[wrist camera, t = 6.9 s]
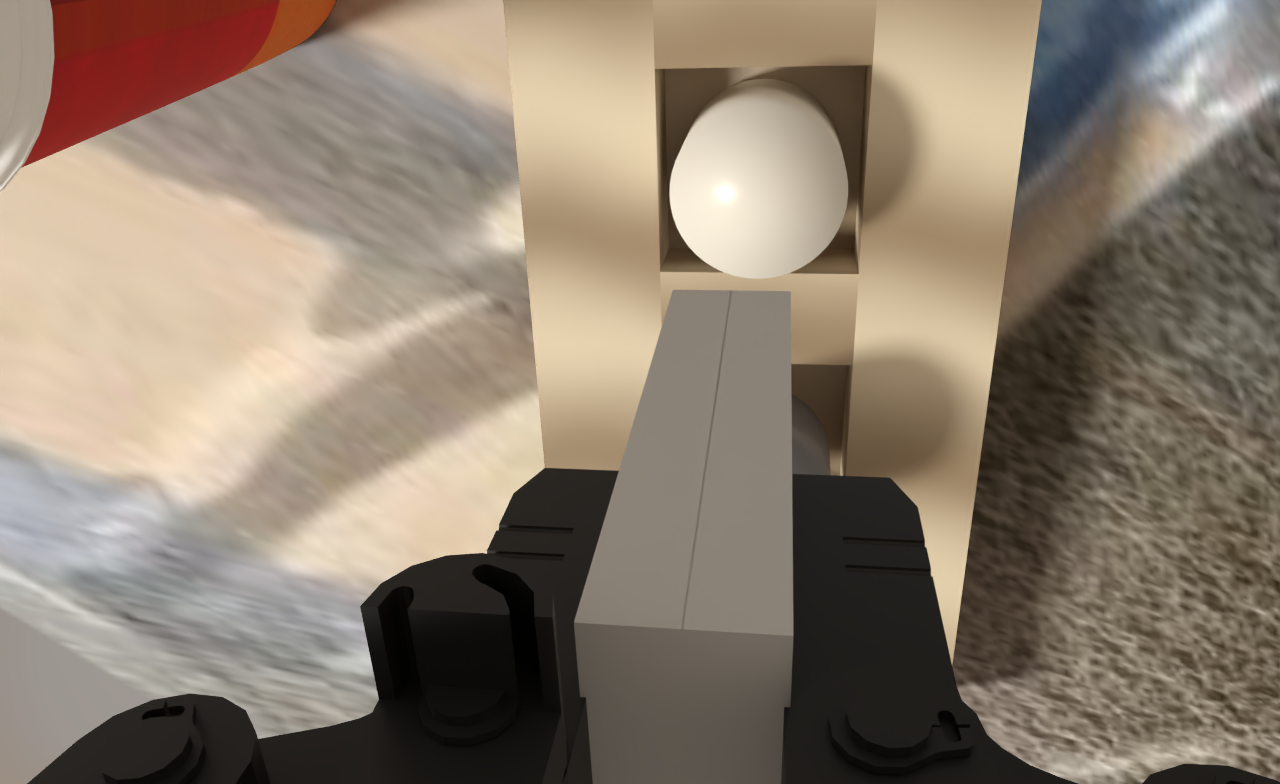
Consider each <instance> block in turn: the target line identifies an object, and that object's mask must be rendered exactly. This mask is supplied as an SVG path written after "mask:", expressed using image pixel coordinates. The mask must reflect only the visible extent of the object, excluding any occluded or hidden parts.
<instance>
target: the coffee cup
mask: <svg viewBox="0 0 1280 784" xmlns="http://www.w3.org/2000/svg"><path fill="white" fill-rule="evenodd" d="M336 1H337V0H0V191H2V190H3V189H4V188H5V187H6V186H7V184H8V183H9V182H10V181H11V180H12V178H13V177H14V176H15V175H16V173H17V172H18V171H19V170H20V168H22V167H24V166H26V165H29V164H31V163H33V162H35V161H38V160H40V159H42V158H45V157H47V156H49V155H52V154H54V153H56V152H59V151H61V150H63V149H66V148H68V147H70V146H73V145H75V144H77V143H80V142H82V141H84V140H87V139H89V138H91V137H94V136H96V135H98V134H101V133H103V132H105V131H108V130H110V129H112V128H115V127H117V126H119V125H122V124H124V123H126V122H129V121H131V120H133V119H136V118H138V117H140V116H143V115H145V114H147V113H150V112H152V111H154V110H157V109H159V108H161V107H164V106H166V105H168V104H171V103H173V102H175V101H178V100H180V99H182V98H184V97H187V96H189V95H191V94H194V93H196V92H198V91H201V90H203V89H205V88H207V87H210V86H212V85H214V84H217V83H219V82H221V81H224V80H226V79H228V78H230V77H233V76H235V75H237V74H239V73H241V72H244V71H246V70H248V69H250V68H253V67H255V66H257V65H259V64H262V63H264V62H266V61H268V60H270V59H272V58H274V57H276V56H278V55H280V54H282V53H284V52H286V51H288V50H290V49H292V48H294V47H295V46H297V45H299V44H300V43H302V42H303V41H305V40H306V39H307V38H309V37H310V36H311V35H312V34H313V33H314V32H315V31H316V30H317V29H318V28H319V27H320V26H321V25H322V24H323V23H324V22H325V20H326V19H327V17H328V16H329V14H330V13H331V11H332V9H333V7H334V5H335V3H336Z"/></svg>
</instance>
